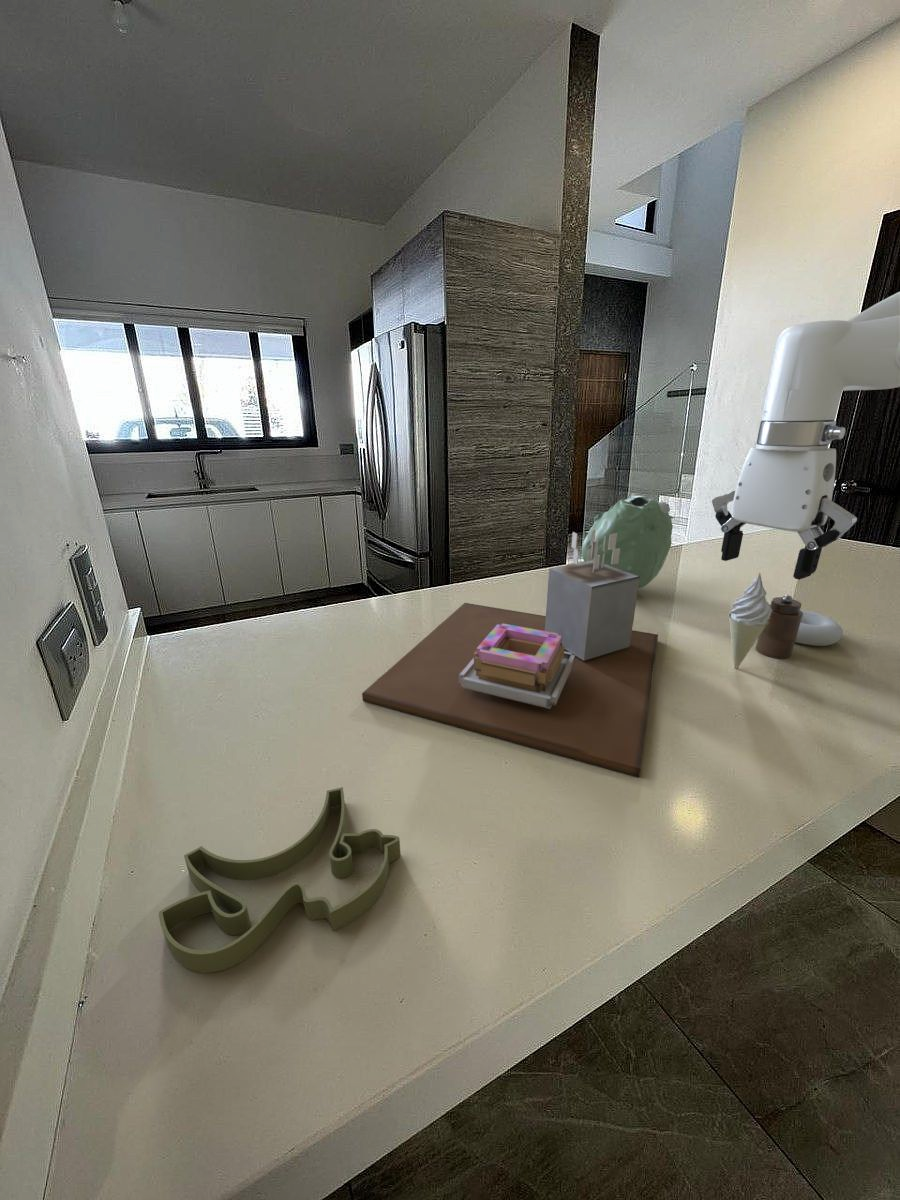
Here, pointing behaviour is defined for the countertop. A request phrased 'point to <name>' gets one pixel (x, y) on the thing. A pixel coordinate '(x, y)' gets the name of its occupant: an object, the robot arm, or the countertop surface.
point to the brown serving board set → (540, 669)
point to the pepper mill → (780, 628)
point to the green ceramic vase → (634, 536)
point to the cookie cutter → (286, 900)
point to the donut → (818, 630)
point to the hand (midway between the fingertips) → (763, 567)
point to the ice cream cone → (748, 619)
